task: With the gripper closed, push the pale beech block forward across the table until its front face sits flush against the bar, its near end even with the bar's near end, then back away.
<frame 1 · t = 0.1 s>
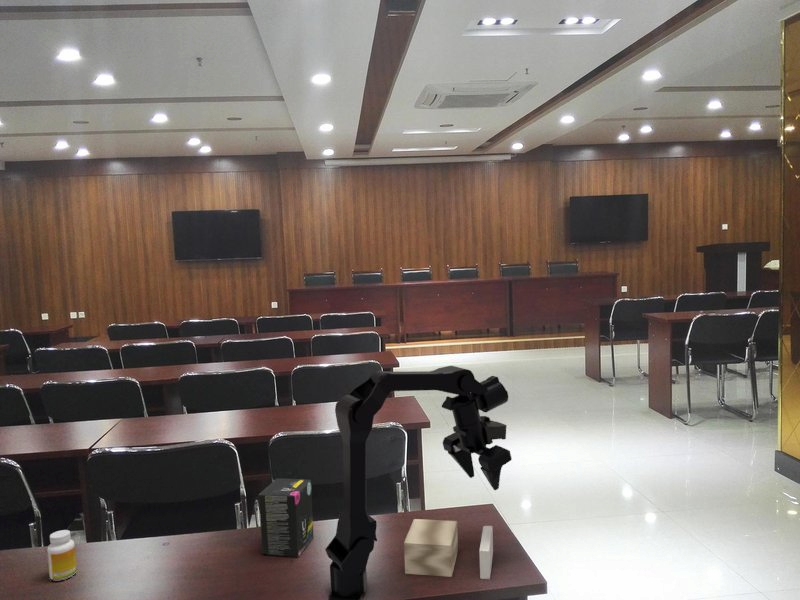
hand: (483, 483, 141), 15 cm above the table, tool pointing down, fingers open, 9 cm apart
supplement bottle: (63, 577, 137), on the table
tampon box: (289, 546, 147), on the table
bar: (486, 564, 135), on the table
block: (432, 562, 137), on the table
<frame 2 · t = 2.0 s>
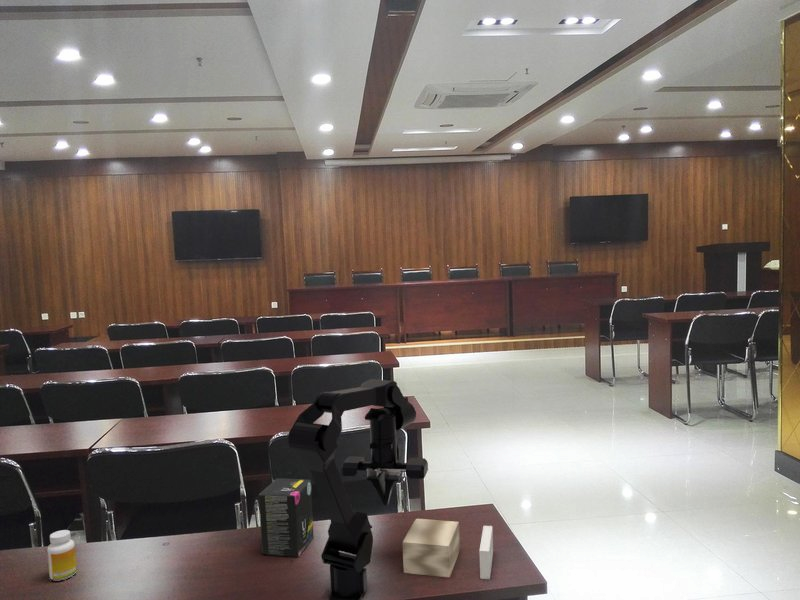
hand: (386, 504, 138), 12 cm above the table, tool pointing down, fingers closed
nothing on the table moved.
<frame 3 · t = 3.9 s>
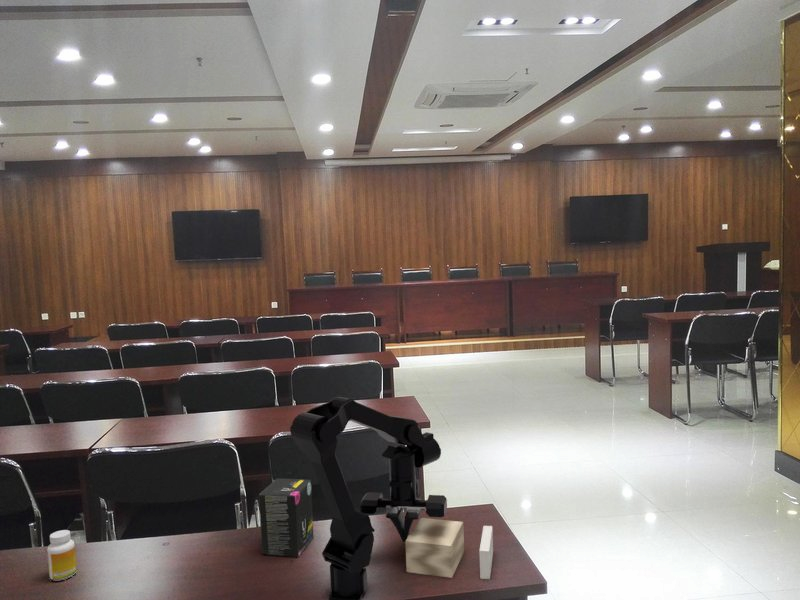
hand: (405, 541, 138), 4 cm above the table, tool pointing down, fingers closed
block: (436, 561, 137), on the table, touching gripper
everything else where it was.
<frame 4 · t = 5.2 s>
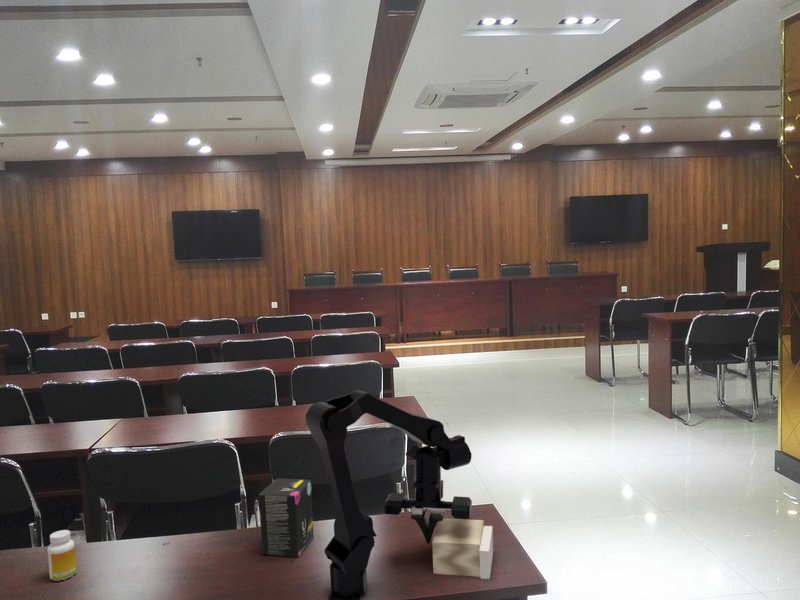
hand: (428, 542, 137), 4 cm above the table, tool pointing down, fingers closed
block: (459, 561, 137), on the table, touching bar, gripper
everything else where it was.
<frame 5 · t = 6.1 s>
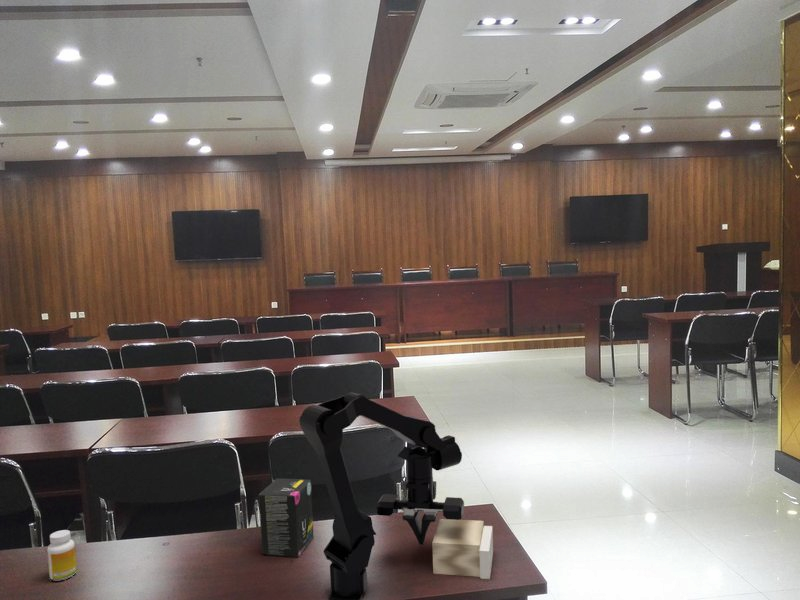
hand: (421, 544, 137), 4 cm above the table, tool pointing down, fingers closed
block: (459, 562, 137), on the table
everything else where it was.
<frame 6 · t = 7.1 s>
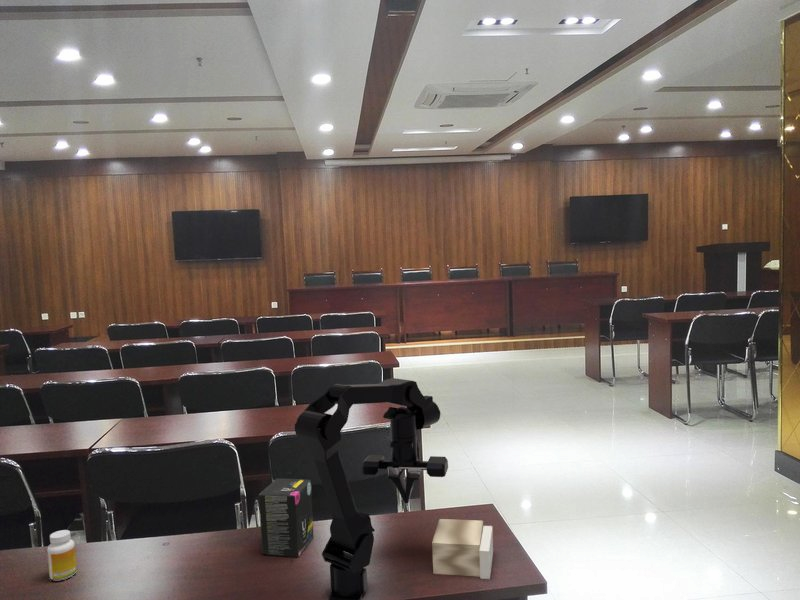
hand: (406, 502, 140), 12 cm above the table, tool pointing down, fingers closed
nothing on the table moved.
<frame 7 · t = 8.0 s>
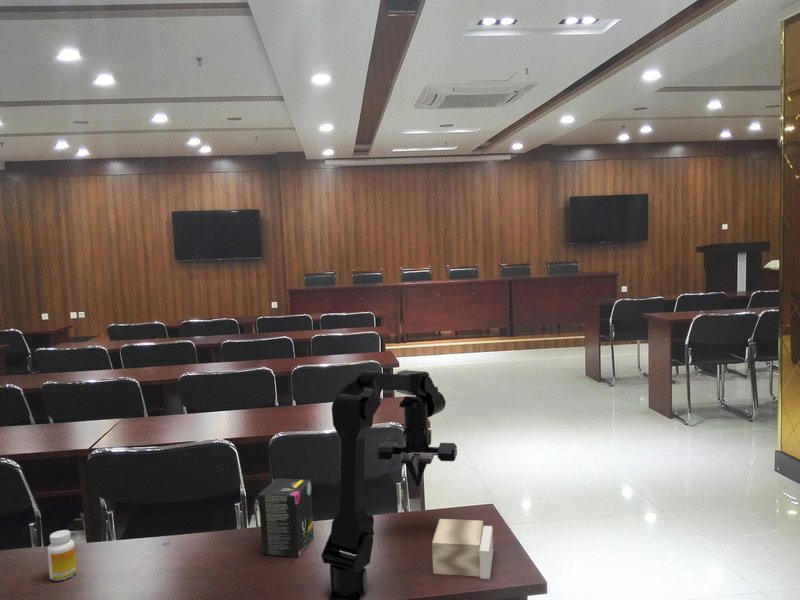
hand: (418, 485, 150), 12 cm above the table, tool pointing down, fingers closed
nothing on the table moved.
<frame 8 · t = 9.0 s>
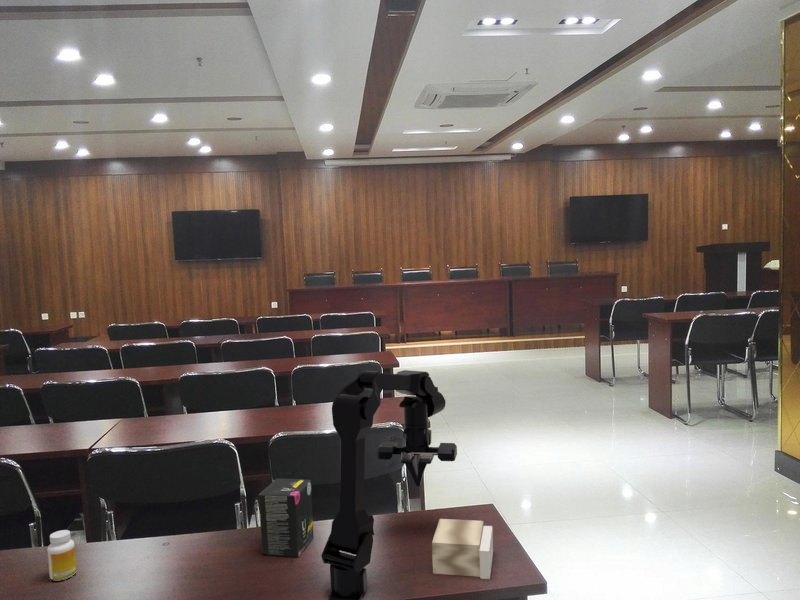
hand: (418, 485, 150), 12 cm above the table, tool pointing down, fingers closed
nothing on the table moved.
at the end: block 0.8 cm from the target spot on the table beside the bar, on the table; block tilted 0° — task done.
